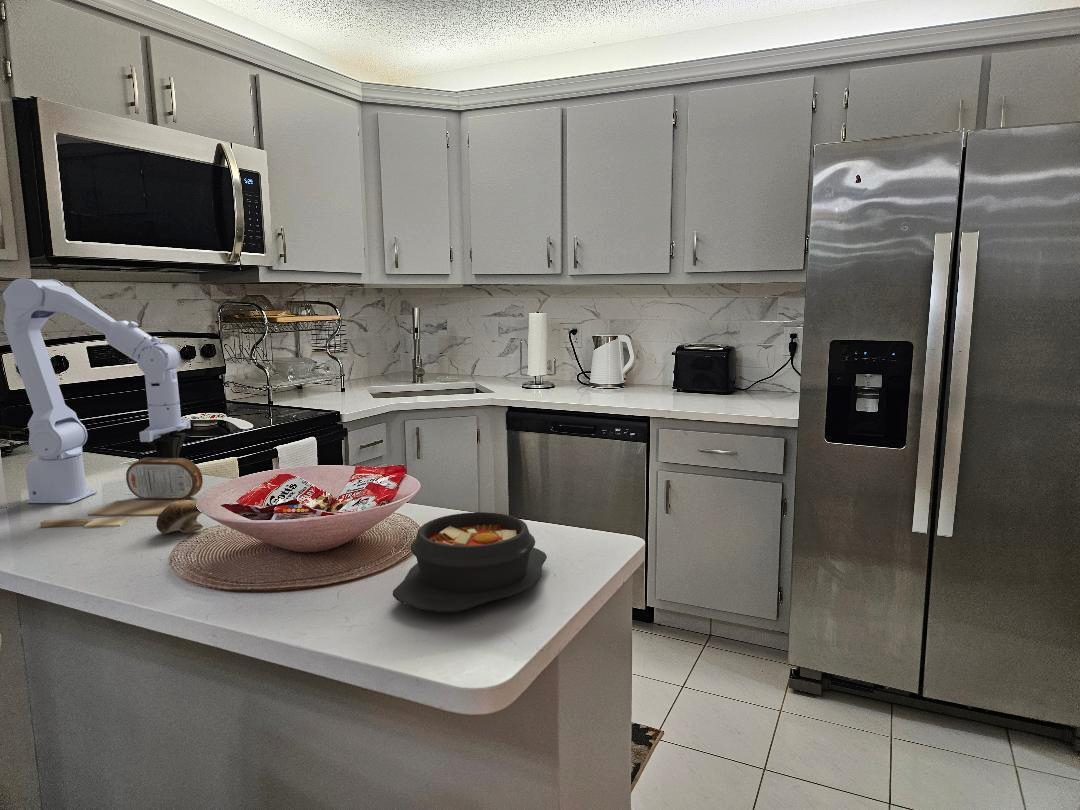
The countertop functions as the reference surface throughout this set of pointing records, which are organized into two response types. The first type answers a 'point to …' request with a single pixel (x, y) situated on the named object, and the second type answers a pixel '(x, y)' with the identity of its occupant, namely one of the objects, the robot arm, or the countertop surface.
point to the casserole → (470, 562)
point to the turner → (87, 522)
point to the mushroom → (179, 517)
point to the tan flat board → (133, 508)
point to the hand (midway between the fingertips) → (170, 469)
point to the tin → (164, 478)
